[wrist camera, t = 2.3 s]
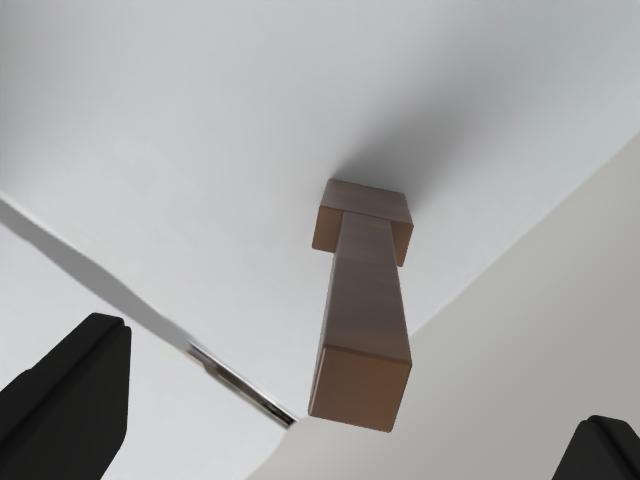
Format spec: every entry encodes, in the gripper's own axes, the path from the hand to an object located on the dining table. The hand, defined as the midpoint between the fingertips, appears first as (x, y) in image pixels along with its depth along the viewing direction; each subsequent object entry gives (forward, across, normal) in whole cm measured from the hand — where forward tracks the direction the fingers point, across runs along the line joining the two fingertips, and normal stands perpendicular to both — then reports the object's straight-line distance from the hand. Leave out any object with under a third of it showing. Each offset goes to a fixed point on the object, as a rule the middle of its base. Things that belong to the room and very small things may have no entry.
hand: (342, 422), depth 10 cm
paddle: (+16, 0, 0) cm, 16 cm away
